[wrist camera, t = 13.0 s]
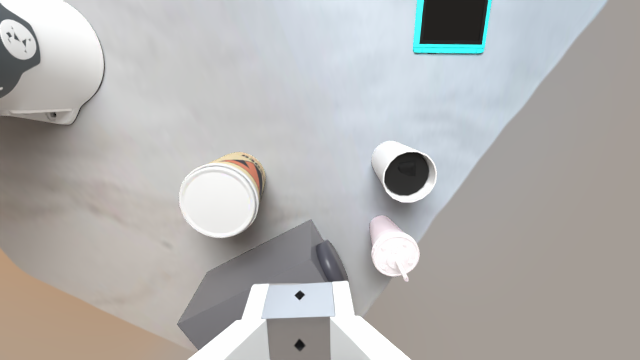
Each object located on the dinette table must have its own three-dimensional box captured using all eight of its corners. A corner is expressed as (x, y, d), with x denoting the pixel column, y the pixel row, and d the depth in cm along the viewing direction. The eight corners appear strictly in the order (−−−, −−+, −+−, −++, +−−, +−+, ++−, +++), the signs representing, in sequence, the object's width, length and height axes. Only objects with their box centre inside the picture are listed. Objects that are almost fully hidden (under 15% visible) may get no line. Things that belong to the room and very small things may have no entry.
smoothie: (364, 246, 51) (383, 302, 37) (358, 211, 49) (375, 257, 35) (402, 239, 50) (435, 292, 37) (397, 203, 49) (429, 246, 35)
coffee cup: (282, 185, 47) (273, 215, 36) (234, 215, 49) (209, 253, 37) (247, 134, 45) (225, 149, 33) (197, 167, 46) (159, 192, 35)
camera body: (240, 316, 54) (221, 377, 43) (207, 271, 51) (176, 324, 40) (348, 264, 52) (359, 314, 40) (319, 214, 49) (321, 253, 37)
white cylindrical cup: (365, 142, 46) (379, 155, 36) (409, 134, 46) (435, 145, 36) (371, 183, 48) (385, 207, 38) (413, 176, 47) (438, 197, 38)
